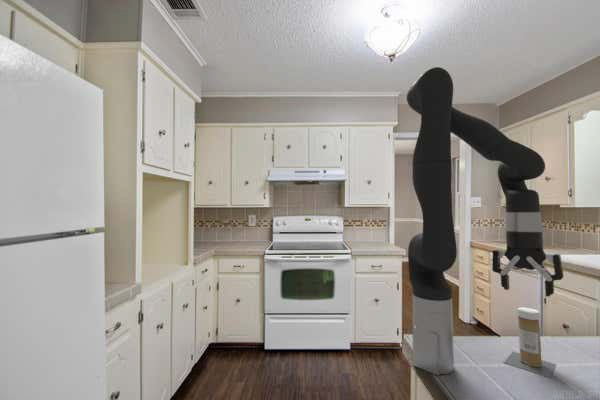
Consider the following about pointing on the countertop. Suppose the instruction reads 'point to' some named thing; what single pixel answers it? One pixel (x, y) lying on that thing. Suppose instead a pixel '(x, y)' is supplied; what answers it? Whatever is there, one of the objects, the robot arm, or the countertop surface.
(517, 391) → the countertop surface
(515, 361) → the letter card
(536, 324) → the sprinkles bottle
